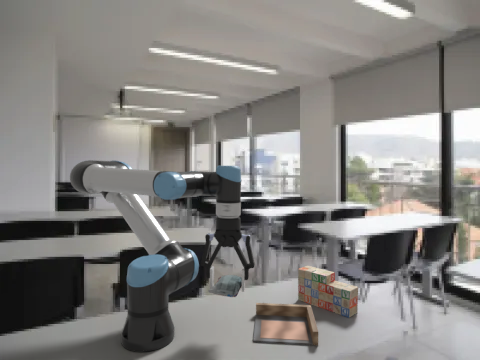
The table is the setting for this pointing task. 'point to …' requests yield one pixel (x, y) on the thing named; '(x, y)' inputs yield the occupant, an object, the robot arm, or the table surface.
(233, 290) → the packaged food
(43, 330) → the table surface
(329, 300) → the stack of blocks
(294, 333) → the corner arena
